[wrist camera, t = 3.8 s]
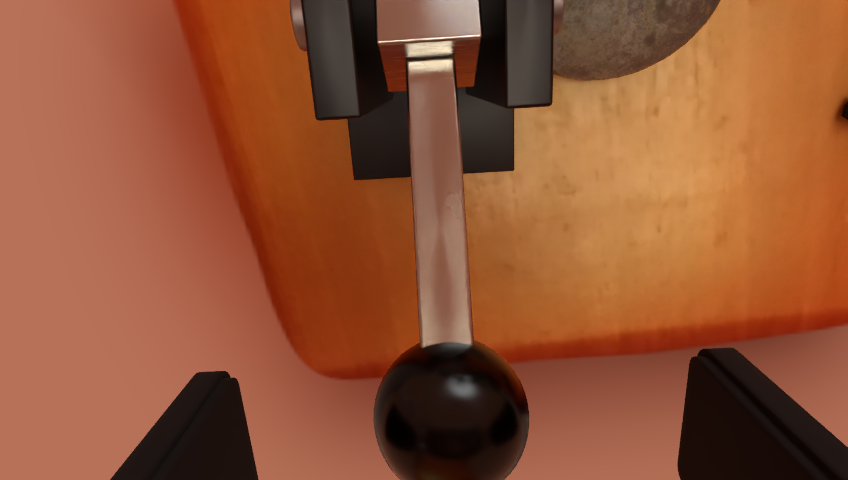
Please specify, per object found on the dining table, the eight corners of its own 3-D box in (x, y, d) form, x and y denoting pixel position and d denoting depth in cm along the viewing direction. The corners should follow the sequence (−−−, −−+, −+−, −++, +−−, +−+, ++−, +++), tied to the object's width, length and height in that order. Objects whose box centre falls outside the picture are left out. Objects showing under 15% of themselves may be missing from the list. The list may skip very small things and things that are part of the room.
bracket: (509, 166, 22) (594, 252, 11) (357, 175, 23) (290, 269, 11) (507, -117, 19) (626, -395, 8) (328, -104, 19) (193, -359, 8)
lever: (520, 465, 12) (552, 527, 8) (385, 471, 12) (366, 535, 8) (485, -8, 13) (501, -106, 10) (366, 0, 13) (342, -96, 10)
